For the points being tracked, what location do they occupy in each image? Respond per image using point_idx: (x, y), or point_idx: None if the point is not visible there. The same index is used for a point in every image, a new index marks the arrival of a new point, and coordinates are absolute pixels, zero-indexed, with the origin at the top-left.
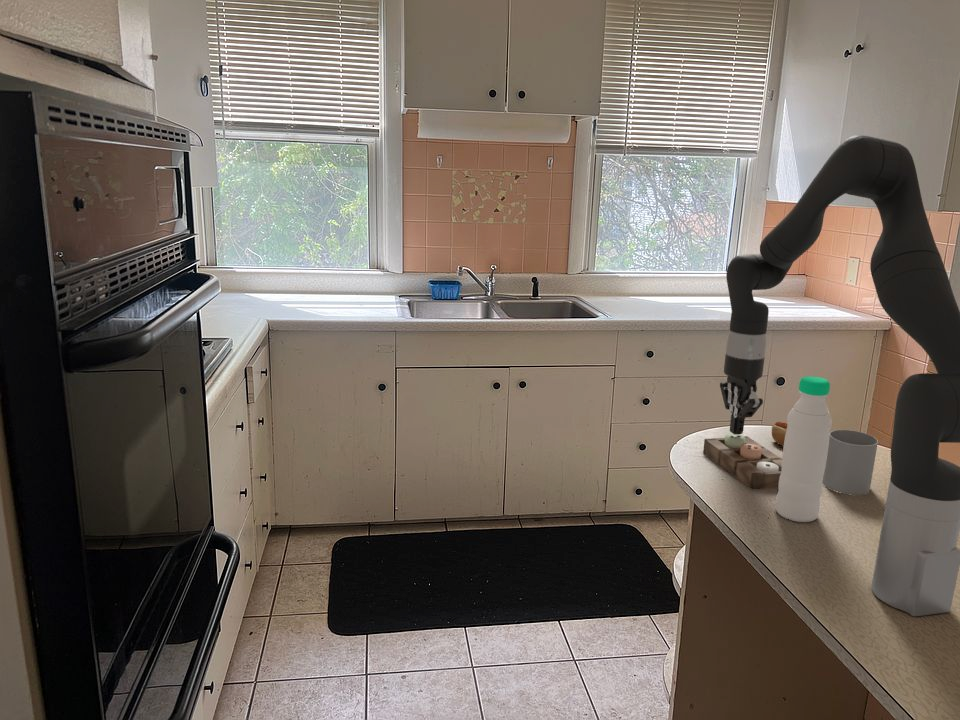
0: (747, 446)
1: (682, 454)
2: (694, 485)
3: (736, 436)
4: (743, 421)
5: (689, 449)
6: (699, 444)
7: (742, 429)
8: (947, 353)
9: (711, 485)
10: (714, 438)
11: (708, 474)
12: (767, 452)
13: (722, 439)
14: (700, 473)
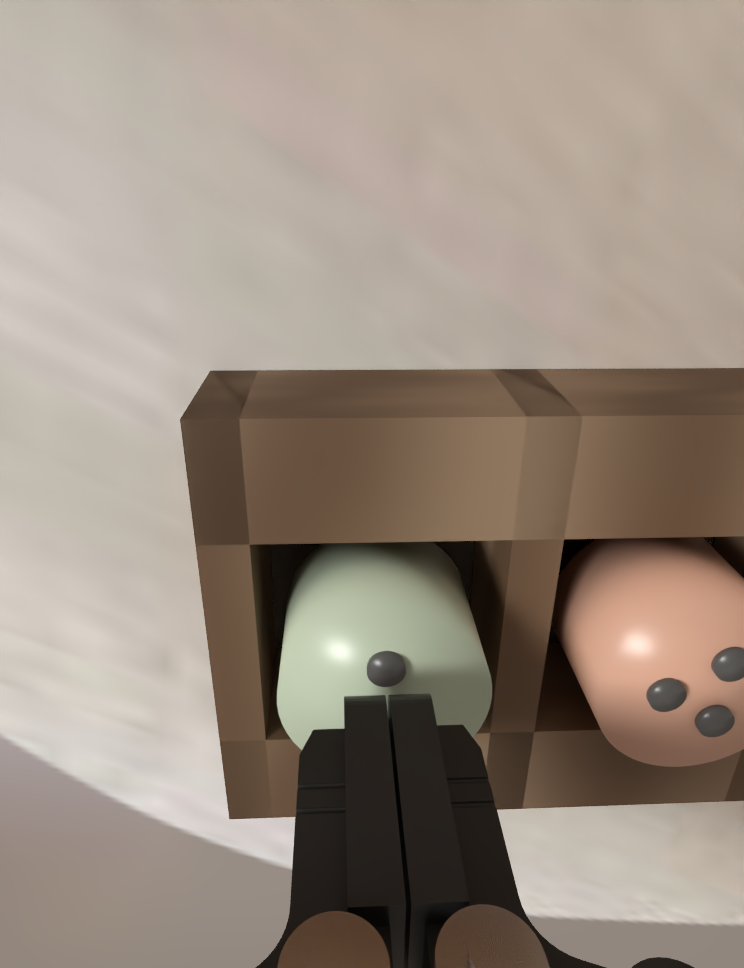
0: (662, 711)
1: (267, 840)
2: (695, 919)
3: (375, 685)
4: (507, 878)
5: (180, 778)
6: (76, 685)
7: (484, 770)
8: None
9: (734, 858)
10: (224, 748)
11: (600, 822)
12: (689, 463)
13: (258, 700)
14: (572, 851)
